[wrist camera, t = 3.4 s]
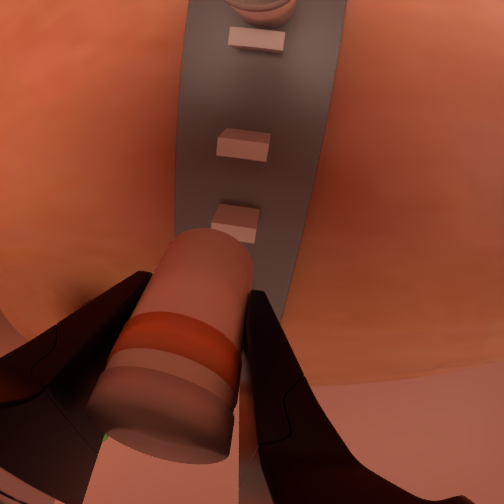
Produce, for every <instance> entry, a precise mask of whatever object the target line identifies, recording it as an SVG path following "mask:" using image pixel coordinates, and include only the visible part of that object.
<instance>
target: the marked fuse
mask: <svg viewBox="0 0 504 504" xmlns="http://www.w3.org/2000/svg"><path fill="white" fill-rule="evenodd" d="M253 276H254V265H253V261H252V258H251V256H250V254H249V252H248V251H247V249H246V248H245V247H244V246H243V245H242V244H241V243H240V242H239V241H238V240H237V239H235V238H234V237H232V236H231V235H229V234H227V233H225V232H222V231H219V230H216V229H211V228H196V229H191V230H187V231H185V232H183V233H181V234H179V235H178V236H176V237H175V238H174V239H173V240H172V242H171V243H170V244H169V246H168V248H167V250H166V252H165V253H164V255H163V257H162V259H161V260H160V262H159V264H158V266H157V268H156V270H155V271H154V273H153V275H152V277H151V279H150V281H149V282H148V284H147V286H146V288H145V290H144V292H143V294H142V296H141V298H140V300H139V301H138V303H137V305H136V307H135V309H134V311H133V313H132V315H131V317H130V319H129V320H128V321H127V322H126V323H125V325H124V326H123V328H122V330H121V332H120V334H119V336H118V338H117V340H116V342H115V345H114V347H113V349H112V351H111V353H110V355H109V357H108V359H107V363H106V369H105V371H103V372H102V373H101V374H100V376H99V378H98V381H97V383H96V385H95V387H94V389H93V392H92V394H91V396H90V398H89V401H88V403H87V405H86V414H87V416H88V417H89V419H90V420H91V421H92V422H93V423H94V424H95V426H97V427H98V428H99V429H100V430H101V431H103V432H104V433H105V434H107V435H108V436H110V437H111V438H113V439H114V440H116V441H118V442H120V443H122V444H124V445H126V446H128V447H130V448H132V449H134V450H137V451H139V452H142V453H145V454H147V455H150V456H153V457H157V458H161V459H164V460H168V461H174V462H179V463H186V464H212V463H217V462H220V461H223V460H224V459H226V458H227V457H228V456H229V454H230V447H231V440H232V433H233V426H234V415H233V411H234V408H235V407H236V404H237V399H238V392H239V385H240V378H241V371H242V358H241V357H242V351H243V344H244V332H245V323H246V317H247V310H248V303H249V297H250V291H251V289H252V282H253Z"/></svg>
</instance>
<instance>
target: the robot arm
mask: <svg viewBox="0 0 504 504" xmlns="http://www.w3.org/2000/svg"><path fill="white" fill-rule="evenodd" d="M151 277H152V273H151V272H146V271H137V272H136V273H134V274H132V275H131V276H129V277H128V278H126V279H125V280H123V281H121V282H120V283H118V284H117V285H115V286H113V287H112V288H110V289H109V290H107V291H106V292H104V293H103V294H101V295H99V296H98V297H96V298H95V299H93V300H92V301H90V302H89V303H87V304H86V305H84V306H82V307H81V308H79V309H78V310H76V311H75V312H73V313H72V314H70V315H69V316H67V317H66V318H64V319H63V320H61V321H60V322H58V323H57V325H54V326H52V327H51V328H49V329H48V330H46V331H45V332H43V333H42V334H40V335H39V336H37V337H36V338H34V339H32V340H31V341H29V342H27V343H26V344H24V345H22V346H21V347H19V348H17V349H15V350H13V351H11V352H10V353H8V354H6V355H4V356H3V357H1V358H0V504H54V501H55V499H57V500H59V501H61V502H63V503H65V504H82V503H83V500H84V497H85V493H86V490H87V487H88V484H89V481H90V477H91V474H92V471H93V468H94V465H95V462H96V459H97V456H98V455H97V454H98V453H99V450H100V447H101V444H102V441H103V438H104V436H105V433H104V432H103V431H101V430H100V429H99V428H98V427H97V426H95V424H94V423H93V422H92V421H91V420H90V419H89V417H88V416H87V414H86V405H87V403H88V401H89V398H90V396H91V394H92V392H93V389H94V387H95V385H96V383H97V381H98V378H99V376H100V374H101V373H102V372H103V371H105V369H106V363H107V359H108V357H109V355H110V353H111V351H112V349H113V347H114V345H115V342H116V340H117V338H118V336H119V334H120V332H121V330H122V328H123V326H124V325H125V323H126V322H127V321H128V320H129V319H130V317H131V315H132V313H133V311H134V309H135V307H136V305H137V303H138V301H139V300H140V298H141V296H142V294H143V292H144V290H145V288H146V286H147V284H148V282H149V281H150V279H151ZM241 358H242V371H241V378H240V391H239V394H240V395H239V504H475V503H473V502H472V501H471V500H469V499H468V498H467V497H465V496H463V495H461V496H456V497H451V498H448V499H444V500H440V501H430V500H425V499H421V498H419V497H417V496H414V495H413V494H411V493H409V492H407V491H405V490H403V489H401V488H400V487H398V486H396V485H394V484H393V483H391V482H389V481H387V480H386V479H384V478H382V477H380V476H379V475H377V474H375V473H374V472H372V471H371V470H369V469H367V468H366V467H365V466H363V465H362V464H361V463H360V462H359V461H358V460H357V459H356V458H355V457H354V456H353V455H352V453H351V452H350V451H349V449H348V448H347V446H346V445H345V443H344V442H343V440H342V439H341V437H340V436H339V434H338V433H337V431H336V430H335V428H334V427H333V425H332V424H331V422H330V421H329V419H328V418H327V416H326V415H325V413H324V411H323V410H322V408H321V406H320V405H319V403H318V401H317V400H316V398H315V396H314V394H313V392H312V390H311V388H310V386H309V384H308V382H307V380H306V377H305V376H304V374H303V371H302V369H301V367H300V365H299V363H298V361H297V359H296V357H295V354H294V352H293V350H292V348H291V346H290V344H289V342H288V340H287V338H286V335H285V333H284V331H283V329H282V327H281V325H280V323H279V321H278V318H277V316H276V314H275V312H274V310H273V308H272V306H271V304H270V301H269V299H268V297H267V295H266V293H265V292H264V291H261V290H255V289H252V290H251V291H250V297H249V303H248V310H247V317H246V323H245V332H244V344H243V351H242V357H241Z"/></svg>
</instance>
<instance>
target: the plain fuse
mask: <svg viewBox="0 0 504 504" xmlns="http://www.w3.org/2000/svg"><path fill="white" fill-rule="evenodd" d="M224 1H225V2H226V3H228V4H229V5H230V6H231V7H232V8H233V9H234V10H235V11H236V13H237V14H238V15H239V16H240V17H241V18H242V19H243V20H244V21H245V22H246V23H247V24H249V25H251V26H253V27H257V28H261V29H271V28H276V27H279V26H281V25H283V24H285V23H286V22H287V21H288V20H289V19H290V18H291V17H292V15H293V14H294V11H295V7H296V2H297V0H224Z"/></svg>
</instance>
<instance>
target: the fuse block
mask: <svg viewBox="0 0 504 504" xmlns="http://www.w3.org/2000/svg"><path fill="white" fill-rule="evenodd" d="M346 1H347V0H297V2H296V7H295V11H294V14H293V15H292V17H291V18H290V19H289V20H288V21H287V22H286V23H285V24H283V25H281V26H279V27H276V28H271V29H261V28H257V27H253V26H251V25H249V24H247V23H246V22H245V21H244V20H243V19H242V18H241V17H240V16H239V15H238V14H237V13H236V11H235V10H234V9H233V8H232V7H231V6H230V5H229V4H228V3H226V2H225V1H224V0H189V4H188V11H187V18H186V26H185V35H184V44H183V53H182V63H181V74H180V87H179V100H178V116H177V135H176V161H175V237H176V236H178V235H179V234H181V233H183V232H185V231H187V230H191V229H196V228H211V229H216V230H219V231H222V232H225V233H227V234H229V235H231V236H232V237H234V238H235V239H237V240H238V241H239V242H240V243H241V244H242V245H243V246H244V247H245V248H246V249H247V251H248V252H249V254H250V256H251V258H252V261H253V265H254V276H253V282H252V289H255V290H261V291H264V292H265V293H266V295H267V297H268V299H269V301H270V304H271V306H272V308H273V310H274V312H275V314H276V316H277V318H278V321H279V323H280V321H281V318H282V314H283V310H284V306H285V303H286V299H287V295H288V291H289V287H290V283H291V279H292V275H293V271H294V267H295V263H296V259H297V255H298V251H299V246H300V242H301V238H302V234H303V229H304V225H305V221H306V216H307V212H308V208H309V203H310V199H311V194H312V190H313V185H314V180H315V176H316V171H317V166H318V161H319V157H320V152H321V147H322V142H323V137H324V132H325V127H326V121H327V116H328V111H329V105H330V100H331V95H332V89H333V83H334V78H335V72H336V66H337V60H338V54H339V48H340V41H341V35H342V28H343V22H344V15H345V8H346ZM252 289H251V290H252Z"/></svg>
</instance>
